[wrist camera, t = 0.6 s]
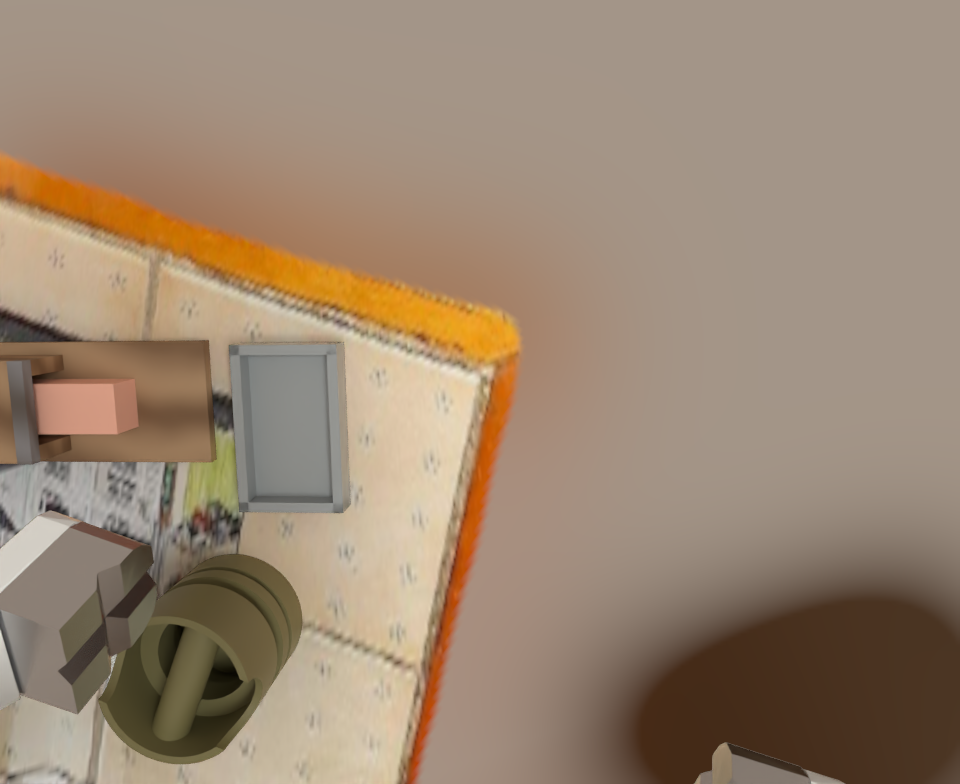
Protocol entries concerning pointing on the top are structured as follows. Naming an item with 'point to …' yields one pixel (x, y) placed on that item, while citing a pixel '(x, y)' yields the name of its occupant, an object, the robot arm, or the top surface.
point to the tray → (290, 426)
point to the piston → (203, 660)
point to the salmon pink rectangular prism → (85, 406)
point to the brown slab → (153, 364)
